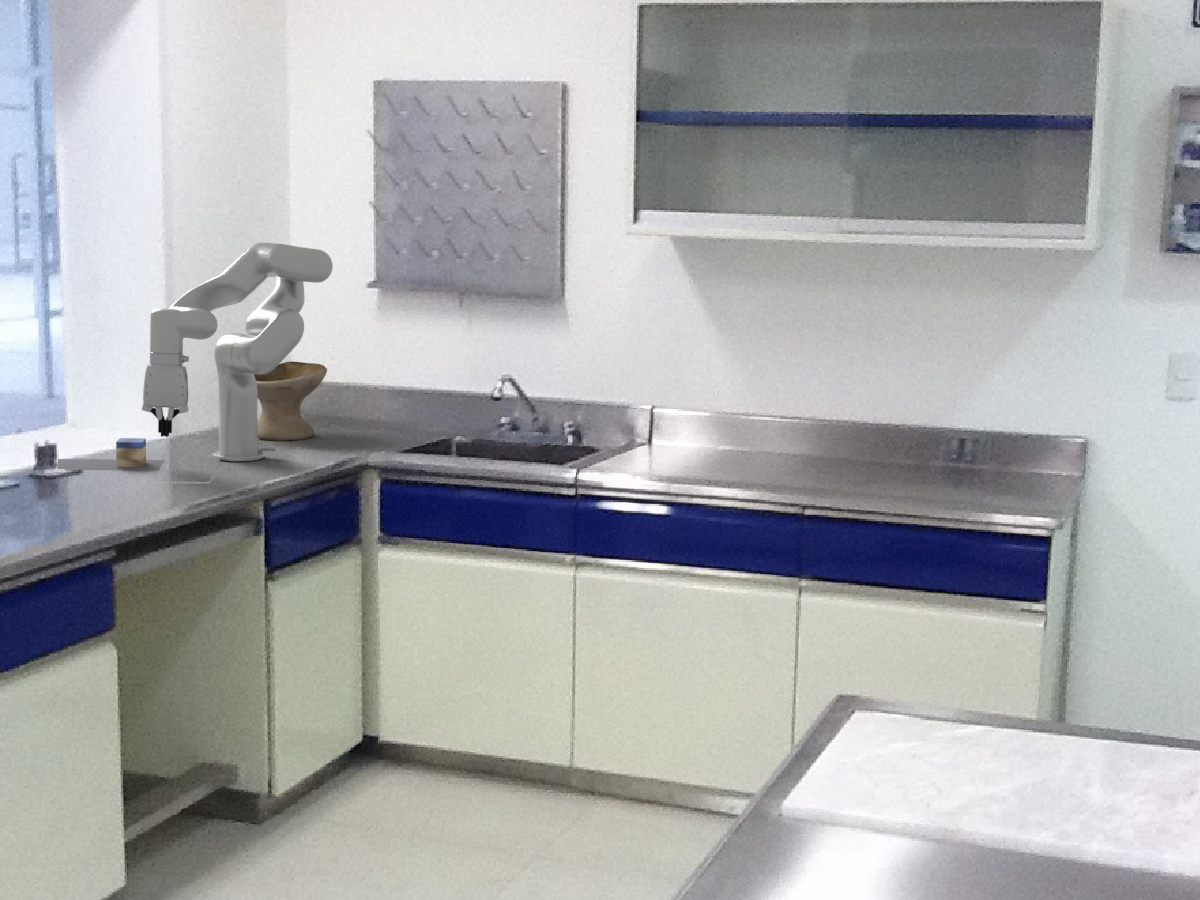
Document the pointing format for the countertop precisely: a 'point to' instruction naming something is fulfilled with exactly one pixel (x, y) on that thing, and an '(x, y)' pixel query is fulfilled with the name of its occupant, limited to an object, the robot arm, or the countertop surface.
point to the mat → (104, 464)
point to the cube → (131, 452)
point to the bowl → (286, 400)
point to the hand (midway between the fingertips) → (164, 435)
